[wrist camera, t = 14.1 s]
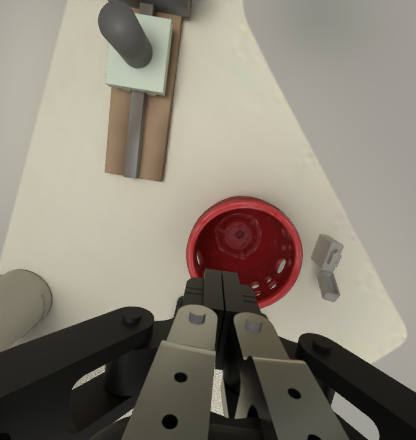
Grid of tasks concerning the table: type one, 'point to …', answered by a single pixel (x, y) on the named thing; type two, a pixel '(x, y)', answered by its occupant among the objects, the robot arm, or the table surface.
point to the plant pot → (247, 246)
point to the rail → (151, 123)
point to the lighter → (327, 265)
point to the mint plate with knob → (135, 49)
